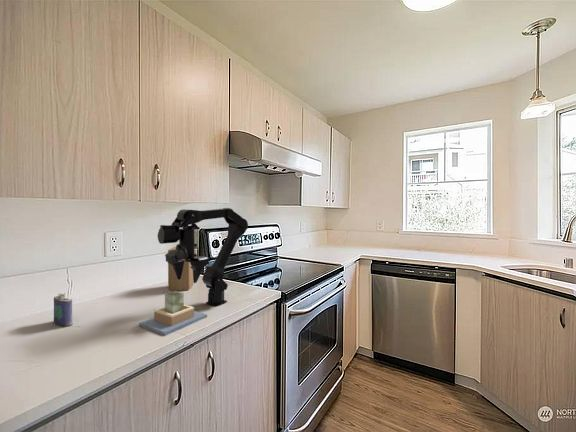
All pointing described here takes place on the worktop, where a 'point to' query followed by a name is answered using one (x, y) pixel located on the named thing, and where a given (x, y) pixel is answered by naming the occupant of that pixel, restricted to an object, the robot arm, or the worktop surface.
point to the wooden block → (186, 277)
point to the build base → (166, 327)
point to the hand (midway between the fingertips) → (187, 281)
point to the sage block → (174, 302)
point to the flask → (62, 311)
